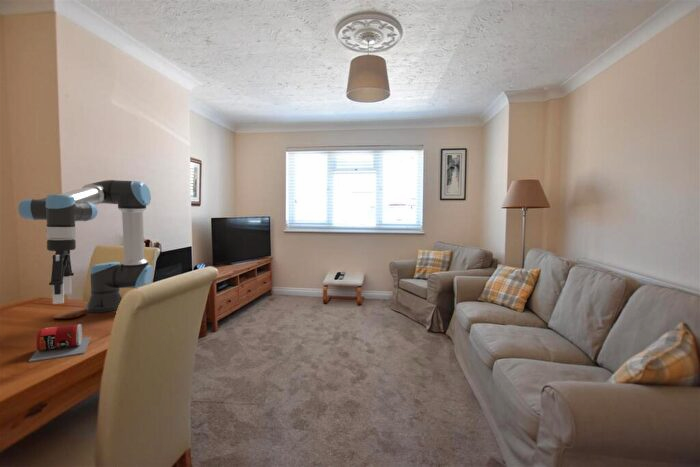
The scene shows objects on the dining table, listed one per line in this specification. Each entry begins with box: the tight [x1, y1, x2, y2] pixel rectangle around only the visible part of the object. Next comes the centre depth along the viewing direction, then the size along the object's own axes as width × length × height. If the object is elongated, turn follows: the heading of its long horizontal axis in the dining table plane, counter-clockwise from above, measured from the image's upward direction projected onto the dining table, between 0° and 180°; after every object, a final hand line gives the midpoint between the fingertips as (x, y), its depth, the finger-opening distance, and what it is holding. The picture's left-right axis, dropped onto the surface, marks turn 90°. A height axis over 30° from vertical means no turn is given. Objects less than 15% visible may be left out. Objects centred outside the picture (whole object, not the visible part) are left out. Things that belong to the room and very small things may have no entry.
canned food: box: [36, 323, 83, 351], centre depth 115 cm, size 8×8×11 cm
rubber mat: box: [28, 336, 91, 363], centre depth 115 cm, size 16×14×1 cm
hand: (62, 298), depth 114 cm, fingers open, 13 cm apart
